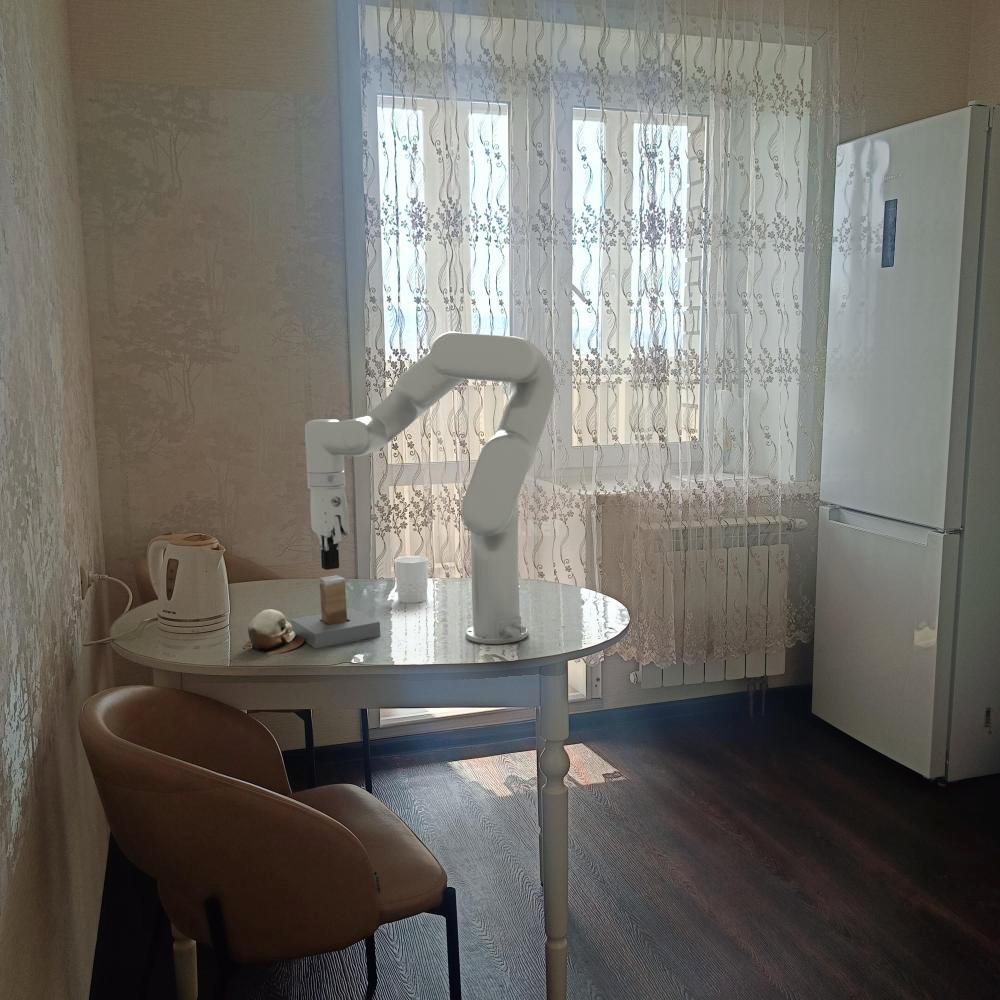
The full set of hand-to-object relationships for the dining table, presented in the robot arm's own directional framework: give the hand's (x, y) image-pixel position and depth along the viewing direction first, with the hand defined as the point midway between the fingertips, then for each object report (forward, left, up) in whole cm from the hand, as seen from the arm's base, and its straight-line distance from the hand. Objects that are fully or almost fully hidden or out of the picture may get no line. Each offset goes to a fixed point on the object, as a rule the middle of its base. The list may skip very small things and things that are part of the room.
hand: (330, 568), depth 187 cm
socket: (0, 0, -14) cm, 14 cm away
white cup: (+16, -26, -14) cm, 34 cm away
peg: (0, 0, -14) cm, 14 cm away
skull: (0, +13, -15) cm, 19 cm away
